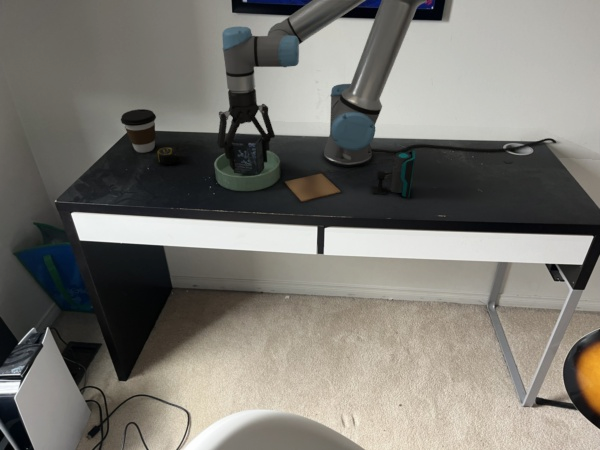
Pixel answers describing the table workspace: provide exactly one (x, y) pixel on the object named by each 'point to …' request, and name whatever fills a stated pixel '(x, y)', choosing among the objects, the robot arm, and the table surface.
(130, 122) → the coffee cup
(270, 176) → the bowl
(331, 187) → the mat
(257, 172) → the box
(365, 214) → the table surface
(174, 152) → the tape measure
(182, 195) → the table surface
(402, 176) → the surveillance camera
